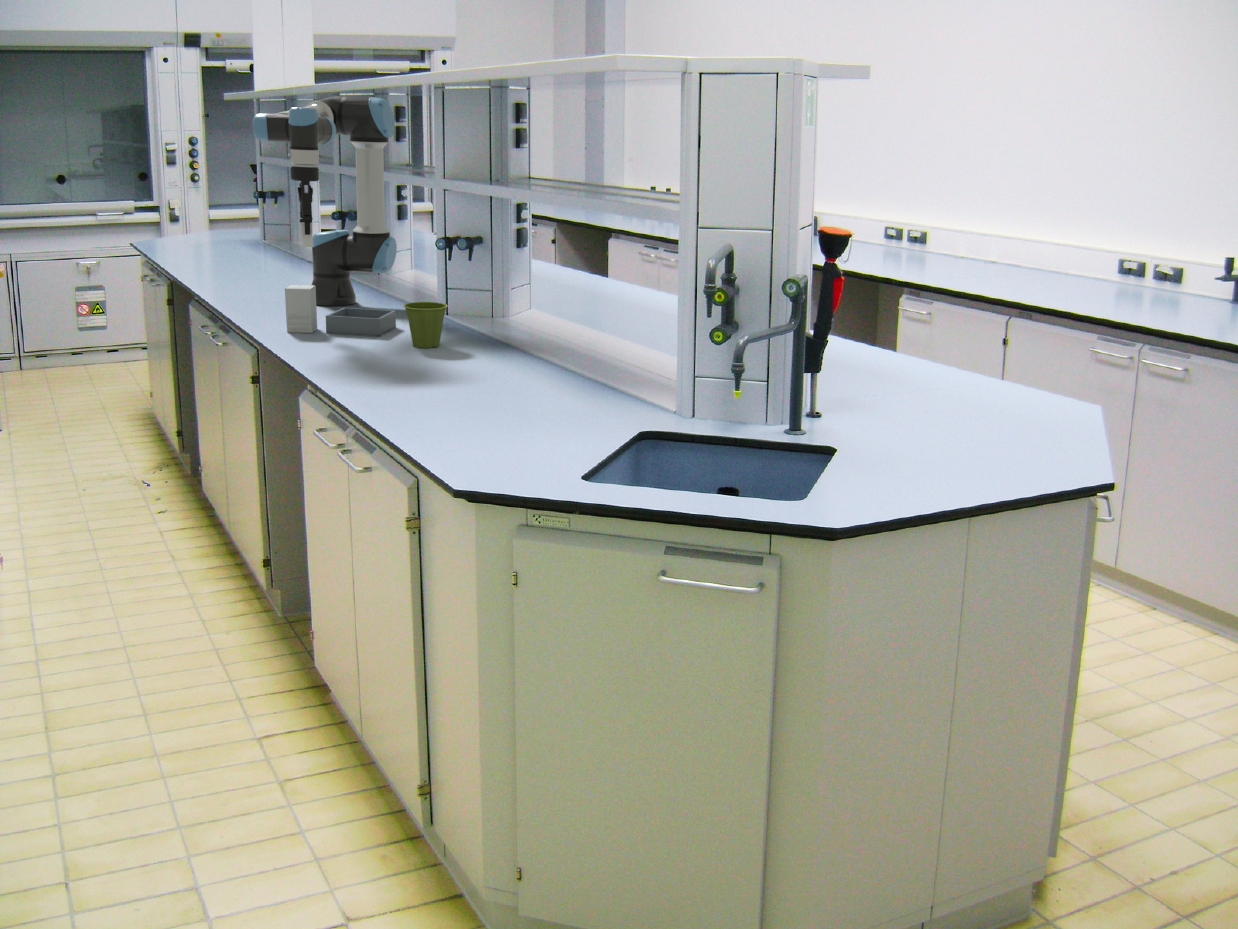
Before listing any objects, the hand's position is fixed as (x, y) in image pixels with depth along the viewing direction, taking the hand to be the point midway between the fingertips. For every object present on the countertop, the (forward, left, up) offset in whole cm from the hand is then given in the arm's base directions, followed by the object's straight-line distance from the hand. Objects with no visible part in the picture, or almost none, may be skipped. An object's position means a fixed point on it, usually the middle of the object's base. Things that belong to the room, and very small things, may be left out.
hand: (306, 244), depth 327 cm
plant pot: (+11, +37, -25) cm, 46 cm away
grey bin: (-6, +13, -24) cm, 28 cm away
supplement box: (0, -2, -25) cm, 25 cm away
